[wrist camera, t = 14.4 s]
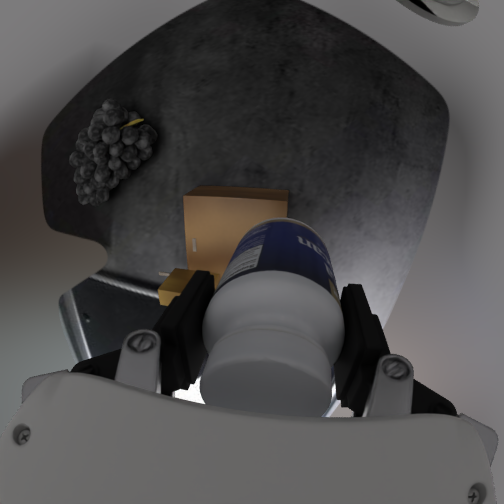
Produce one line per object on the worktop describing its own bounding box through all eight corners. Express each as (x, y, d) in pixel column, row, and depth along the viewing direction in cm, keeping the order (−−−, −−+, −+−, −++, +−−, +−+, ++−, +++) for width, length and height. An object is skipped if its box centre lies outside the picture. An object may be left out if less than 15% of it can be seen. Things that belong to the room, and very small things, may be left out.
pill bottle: (346, 262, 15) (387, 403, 7) (280, 312, 17) (263, 450, 9) (283, 194, 14) (266, 300, 5) (218, 256, 16) (146, 384, 8)
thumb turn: (176, 281, 30) (159, 305, 26) (175, 267, 29) (156, 290, 25) (219, 287, 29) (206, 314, 25) (219, 273, 28) (205, 298, 24)
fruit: (57, 232, 25) (120, 127, 19) (40, 180, 25) (95, 80, 19) (110, 224, 33) (179, 141, 27) (90, 179, 33) (149, 98, 27)
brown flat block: (171, 184, 30) (150, 195, 26) (288, 190, 29) (287, 201, 24) (179, 284, 36) (164, 306, 32) (279, 296, 34) (276, 321, 30)
